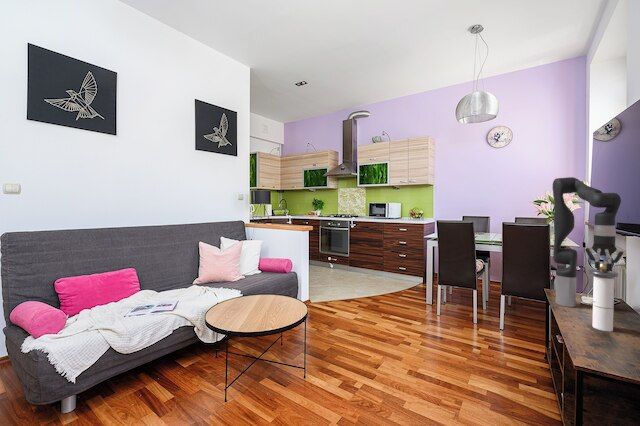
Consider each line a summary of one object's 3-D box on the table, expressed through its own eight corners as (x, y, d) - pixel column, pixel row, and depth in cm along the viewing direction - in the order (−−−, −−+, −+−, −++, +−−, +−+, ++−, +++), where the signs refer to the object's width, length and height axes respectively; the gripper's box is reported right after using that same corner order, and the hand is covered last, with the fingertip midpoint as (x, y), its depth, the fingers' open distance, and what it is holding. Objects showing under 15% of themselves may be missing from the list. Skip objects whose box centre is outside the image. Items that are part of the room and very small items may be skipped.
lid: (584, 271, 147) (584, 260, 146) (609, 272, 144) (609, 261, 144) (597, 276, 137) (597, 265, 137) (623, 277, 134) (624, 266, 134)
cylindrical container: (606, 325, 144) (607, 275, 143) (616, 332, 137) (618, 279, 136) (589, 324, 146) (590, 274, 145) (598, 330, 139) (599, 278, 138)
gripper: (582, 233, 143) (581, 268, 144) (623, 236, 132) (622, 274, 132) (587, 232, 148) (586, 266, 148) (627, 235, 136) (626, 272, 137)
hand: (603, 270), depth 140 cm, fingers closed on lid, 3 cm apart
